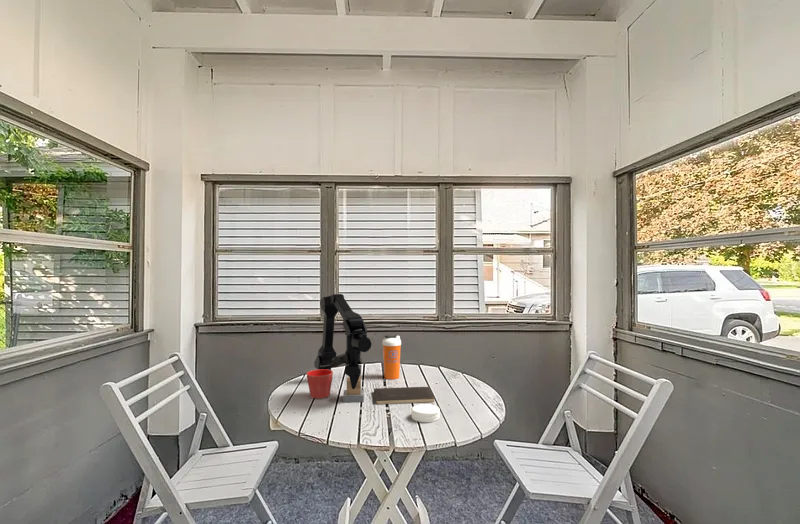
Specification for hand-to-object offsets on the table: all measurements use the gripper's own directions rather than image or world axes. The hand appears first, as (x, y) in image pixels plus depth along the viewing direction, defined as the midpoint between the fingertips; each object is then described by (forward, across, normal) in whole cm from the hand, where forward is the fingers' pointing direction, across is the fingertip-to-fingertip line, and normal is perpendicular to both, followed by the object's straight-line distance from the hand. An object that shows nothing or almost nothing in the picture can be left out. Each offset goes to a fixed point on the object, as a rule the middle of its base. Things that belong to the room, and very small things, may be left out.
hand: (353, 386), depth 180 cm
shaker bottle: (+5, -31, +17) cm, 36 cm away
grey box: (+5, 0, 0) cm, 5 cm away
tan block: (+2, 0, 0) cm, 2 cm away
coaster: (+5, +23, +26) cm, 35 cm away
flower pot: (+5, -5, -14) cm, 16 cm away
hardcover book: (+6, -1, +20) cm, 21 cm away
